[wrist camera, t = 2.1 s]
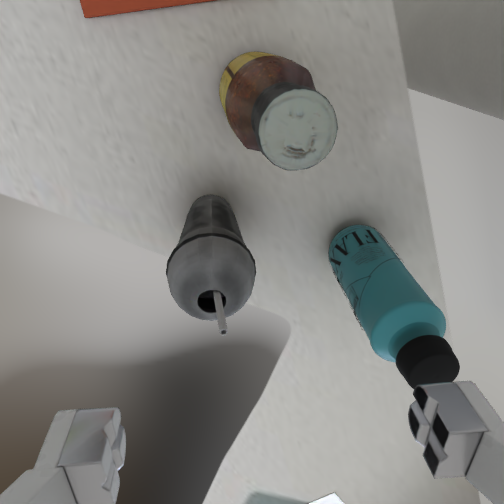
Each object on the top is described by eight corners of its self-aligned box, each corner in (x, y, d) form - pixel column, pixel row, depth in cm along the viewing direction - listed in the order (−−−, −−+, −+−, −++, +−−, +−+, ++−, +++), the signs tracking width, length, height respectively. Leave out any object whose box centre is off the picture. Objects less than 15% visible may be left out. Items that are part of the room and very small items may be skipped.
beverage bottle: (365, 206, 44) (466, 324, 27) (387, 250, 47) (490, 383, 30) (312, 235, 46) (376, 367, 28) (337, 277, 49) (408, 419, 31)
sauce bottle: (257, 136, 40) (294, 224, 22) (204, 93, 37) (202, 154, 20) (303, 79, 38) (383, 128, 20) (250, 30, 35) (291, 38, 18)
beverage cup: (162, 221, 43) (130, 355, 26) (203, 167, 41) (199, 276, 23) (217, 256, 46) (223, 400, 28) (259, 208, 43) (292, 333, 26)
